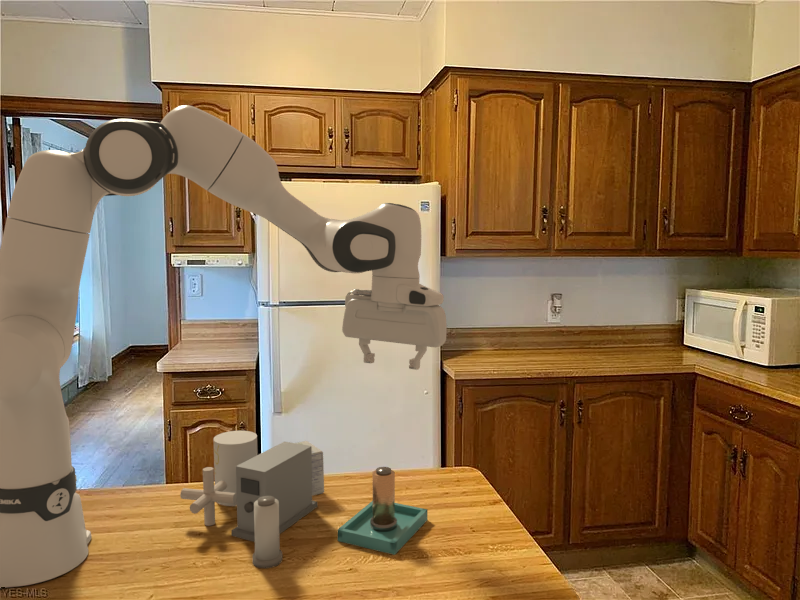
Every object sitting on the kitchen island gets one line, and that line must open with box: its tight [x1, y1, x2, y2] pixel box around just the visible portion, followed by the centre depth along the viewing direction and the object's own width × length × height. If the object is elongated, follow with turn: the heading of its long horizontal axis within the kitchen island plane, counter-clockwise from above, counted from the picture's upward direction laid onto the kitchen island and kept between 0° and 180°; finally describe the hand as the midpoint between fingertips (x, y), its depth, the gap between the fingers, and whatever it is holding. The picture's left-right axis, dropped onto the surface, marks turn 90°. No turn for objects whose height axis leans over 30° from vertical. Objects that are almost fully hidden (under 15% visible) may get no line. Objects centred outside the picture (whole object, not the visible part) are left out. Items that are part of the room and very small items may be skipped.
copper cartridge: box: [370, 466, 397, 532], centre depth 110 cm, size 5×5×10 cm
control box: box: [231, 441, 318, 543], centre depth 114 cm, size 7×16×12 cm, turn 155°
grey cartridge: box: [252, 496, 283, 569], centre depth 100 cm, size 5×5×10 cm
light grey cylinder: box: [213, 430, 259, 507], centre depth 124 cm, size 8×8×12 cm
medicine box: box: [295, 440, 325, 497], centre depth 128 cm, size 8×4×9 cm, turn 32°
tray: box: [336, 500, 428, 556], centre depth 111 cm, size 11×14×2 cm
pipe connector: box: [179, 466, 237, 527], centre depth 113 cm, size 10×10×10 cm
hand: (391, 365), depth 120 cm, fingers open, 8 cm apart
